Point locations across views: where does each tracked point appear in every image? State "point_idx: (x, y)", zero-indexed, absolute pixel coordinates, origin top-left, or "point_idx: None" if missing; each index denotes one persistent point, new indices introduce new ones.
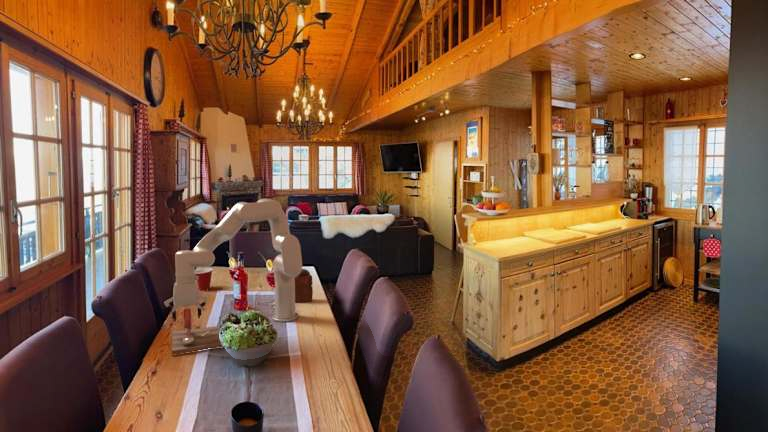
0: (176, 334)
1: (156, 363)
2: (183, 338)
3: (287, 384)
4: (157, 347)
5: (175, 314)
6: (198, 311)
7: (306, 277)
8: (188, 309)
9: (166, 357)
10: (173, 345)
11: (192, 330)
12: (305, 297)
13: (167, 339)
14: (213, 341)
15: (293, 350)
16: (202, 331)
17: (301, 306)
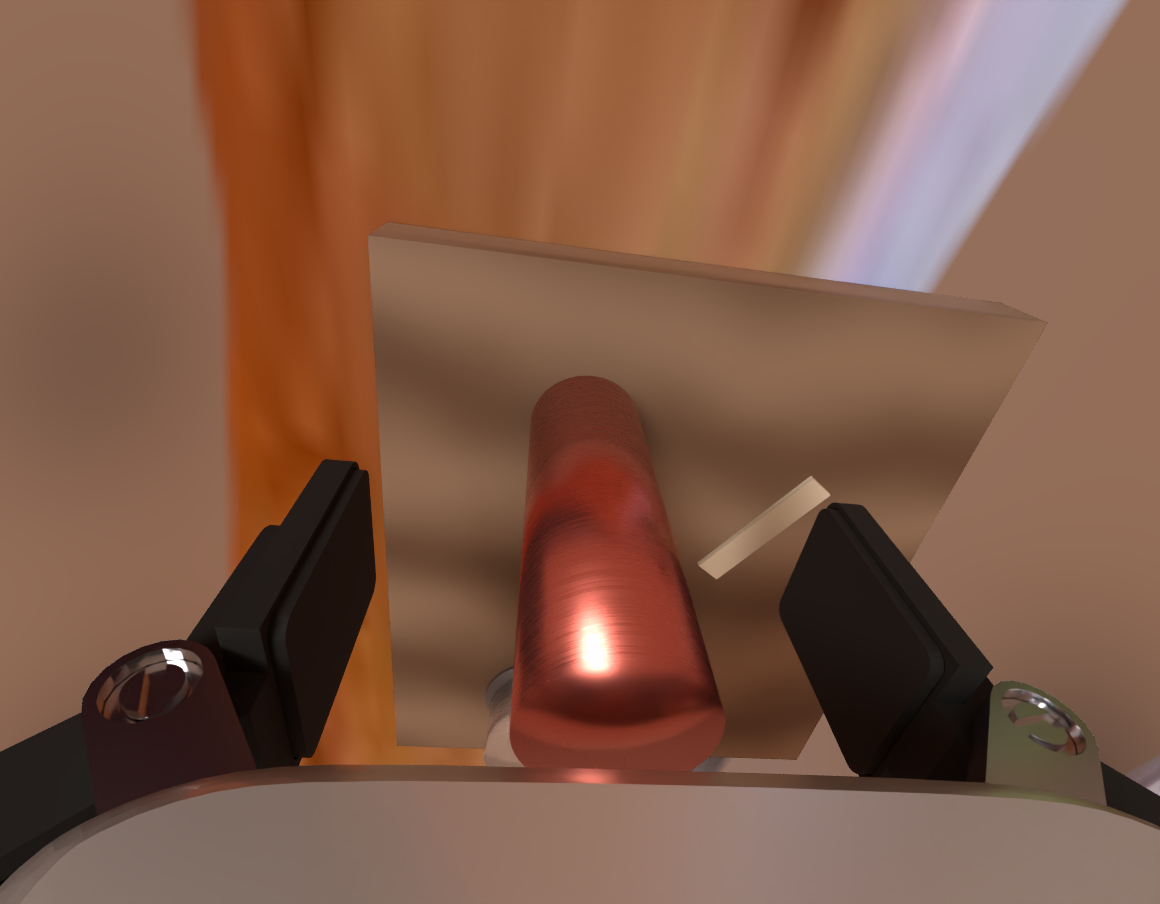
0: (429, 381)
1: (305, 761)
2: (491, 749)
3: None
4: (244, 506)
5: (321, 709)
6: (846, 743)
7: None
8: (654, 751)
9: (365, 712)
10: (404, 665)
11: (660, 326)
12: None
13: (322, 310)
14: (747, 710)
15: None
16: (763, 433)
17: None
